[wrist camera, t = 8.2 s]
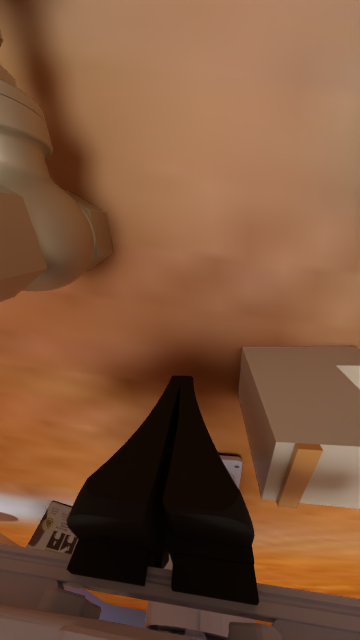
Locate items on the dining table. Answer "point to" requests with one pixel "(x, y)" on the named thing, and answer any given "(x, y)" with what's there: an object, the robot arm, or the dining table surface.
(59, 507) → the coffee box
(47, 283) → the valve
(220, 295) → the dining table surface
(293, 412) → the block
